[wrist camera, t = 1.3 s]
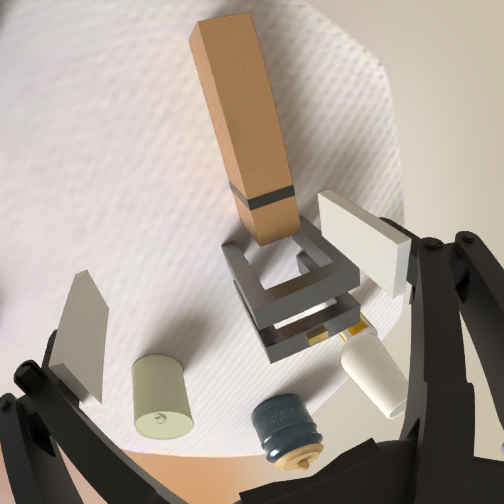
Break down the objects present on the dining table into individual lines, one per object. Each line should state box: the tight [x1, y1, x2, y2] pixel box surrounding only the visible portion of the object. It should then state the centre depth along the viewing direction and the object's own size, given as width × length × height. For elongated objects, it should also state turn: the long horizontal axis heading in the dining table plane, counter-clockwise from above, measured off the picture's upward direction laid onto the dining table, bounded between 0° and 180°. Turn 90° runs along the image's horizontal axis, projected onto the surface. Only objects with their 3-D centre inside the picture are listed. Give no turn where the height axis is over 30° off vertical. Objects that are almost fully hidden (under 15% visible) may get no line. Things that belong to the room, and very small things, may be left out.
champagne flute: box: [305, 302, 409, 419], centre depth 41 cm, size 7×7×24 cm
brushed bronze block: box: [188, 12, 301, 247], centre depth 30 cm, size 24×5×8 cm, turn 14°
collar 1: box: [221, 216, 360, 330], centre depth 36 cm, size 3×12×14 cm, turn 104°
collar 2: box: [234, 252, 360, 364], centre depth 39 cm, size 3×12×15 cm, turn 104°
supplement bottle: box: [339, 312, 377, 342], centre depth 50 cm, size 6×6×10 cm
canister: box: [252, 394, 323, 471], centre depth 56 cm, size 13×13×18 cm
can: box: [131, 354, 194, 440], centre depth 42 cm, size 9×9×12 cm
